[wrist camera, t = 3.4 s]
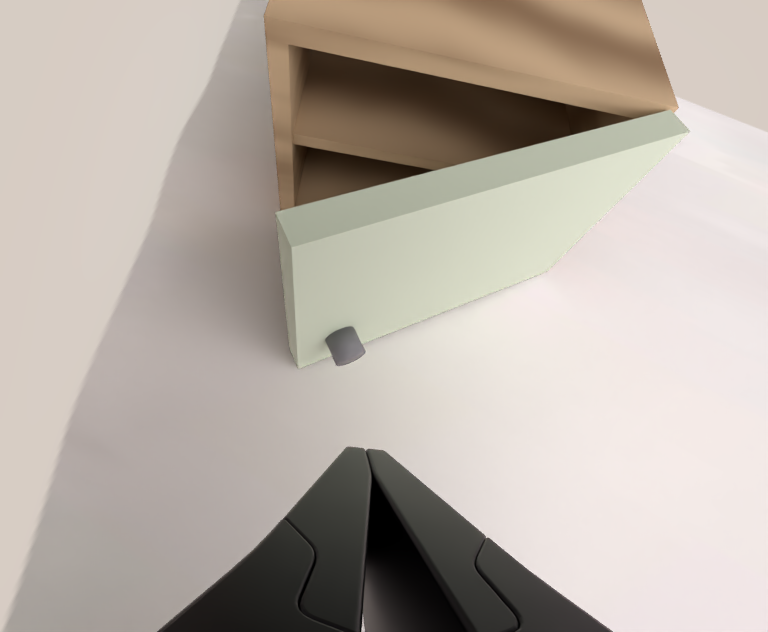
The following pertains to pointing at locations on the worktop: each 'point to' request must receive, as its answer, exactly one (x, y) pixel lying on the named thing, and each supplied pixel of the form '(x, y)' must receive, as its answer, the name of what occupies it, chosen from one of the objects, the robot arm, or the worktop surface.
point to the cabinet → (446, 83)
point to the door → (451, 234)
